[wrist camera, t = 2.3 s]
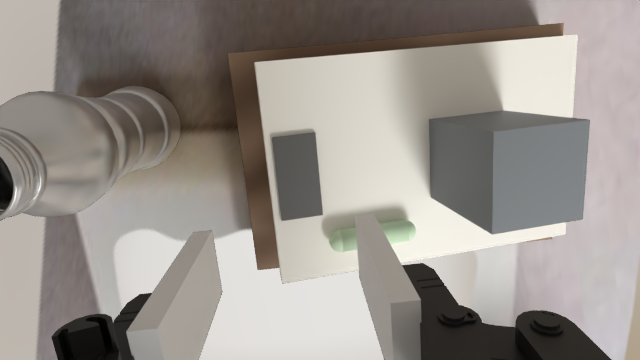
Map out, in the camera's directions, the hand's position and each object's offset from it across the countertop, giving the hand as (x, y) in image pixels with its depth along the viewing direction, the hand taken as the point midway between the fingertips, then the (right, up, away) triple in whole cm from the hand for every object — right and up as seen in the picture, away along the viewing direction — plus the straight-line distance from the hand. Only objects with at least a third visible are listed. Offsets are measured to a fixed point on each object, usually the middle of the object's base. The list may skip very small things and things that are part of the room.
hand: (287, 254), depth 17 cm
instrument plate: (+9, +5, +16) cm, 19 cm away
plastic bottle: (-13, +8, +19) cm, 25 cm away
